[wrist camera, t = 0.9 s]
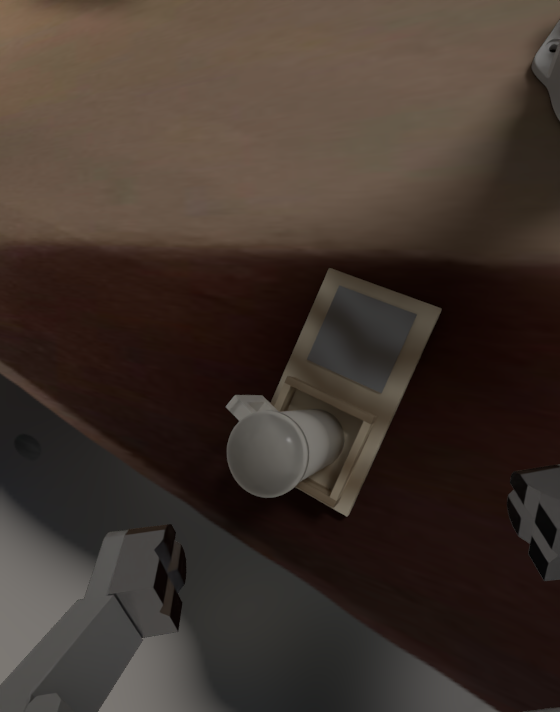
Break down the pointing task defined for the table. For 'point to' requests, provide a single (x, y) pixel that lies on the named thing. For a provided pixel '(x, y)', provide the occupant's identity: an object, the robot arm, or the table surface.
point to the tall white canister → (279, 445)
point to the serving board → (354, 373)
